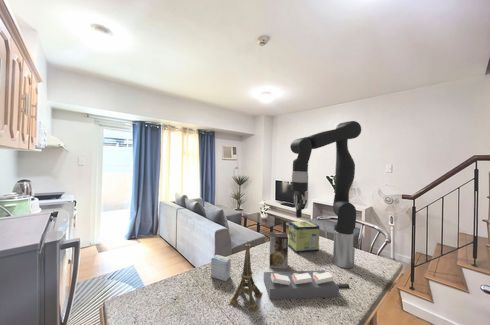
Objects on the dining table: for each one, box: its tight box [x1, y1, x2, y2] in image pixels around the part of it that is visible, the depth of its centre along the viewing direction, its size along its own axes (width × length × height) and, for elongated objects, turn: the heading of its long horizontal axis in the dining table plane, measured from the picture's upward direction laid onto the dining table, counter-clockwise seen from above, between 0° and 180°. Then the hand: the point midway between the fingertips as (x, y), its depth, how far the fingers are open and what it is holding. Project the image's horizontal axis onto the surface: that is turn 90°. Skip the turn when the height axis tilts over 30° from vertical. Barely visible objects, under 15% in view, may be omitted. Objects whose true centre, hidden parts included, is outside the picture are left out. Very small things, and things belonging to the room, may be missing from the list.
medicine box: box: [210, 254, 232, 282], centre depth 92 cm, size 8×4×9 cm, turn 65°
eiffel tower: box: [228, 242, 263, 313], centre depth 78 cm, size 11×11×25 cm
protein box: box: [288, 220, 320, 254], centre depth 125 cm, size 10×16×16 cm
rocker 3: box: [313, 271, 334, 284], centre depth 84 cm, size 7×4×2 cm, turn 96°
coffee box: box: [268, 231, 289, 270], centre depth 104 cm, size 9×6×16 cm
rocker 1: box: [271, 273, 290, 285], centre depth 82 cm, size 7×4×2 cm, turn 96°
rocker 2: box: [292, 273, 312, 284], centre depth 83 cm, size 7×4×2 cm, turn 96°
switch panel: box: [263, 270, 350, 300], centre depth 86 cm, size 36×12×5 cm, turn 96°
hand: (298, 217), depth 96 cm, fingers closed
